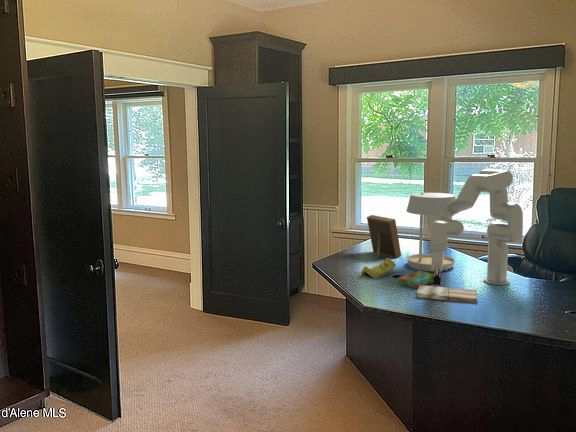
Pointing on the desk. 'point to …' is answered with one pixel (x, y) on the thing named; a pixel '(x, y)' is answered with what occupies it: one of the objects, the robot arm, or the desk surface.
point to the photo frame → (384, 236)
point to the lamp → (428, 206)
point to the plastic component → (380, 269)
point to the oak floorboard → (462, 295)
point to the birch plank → (433, 292)
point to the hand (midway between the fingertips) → (436, 284)
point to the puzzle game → (416, 279)
